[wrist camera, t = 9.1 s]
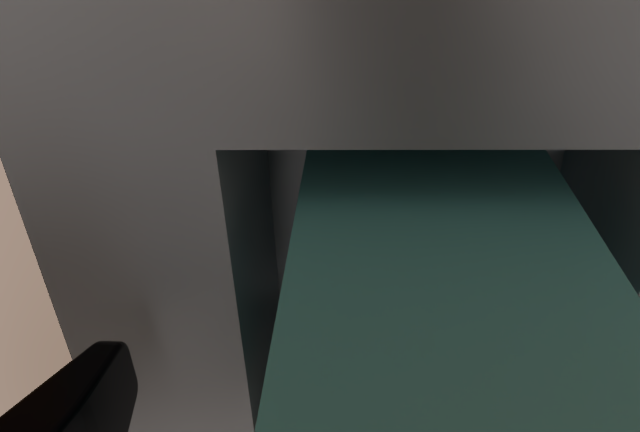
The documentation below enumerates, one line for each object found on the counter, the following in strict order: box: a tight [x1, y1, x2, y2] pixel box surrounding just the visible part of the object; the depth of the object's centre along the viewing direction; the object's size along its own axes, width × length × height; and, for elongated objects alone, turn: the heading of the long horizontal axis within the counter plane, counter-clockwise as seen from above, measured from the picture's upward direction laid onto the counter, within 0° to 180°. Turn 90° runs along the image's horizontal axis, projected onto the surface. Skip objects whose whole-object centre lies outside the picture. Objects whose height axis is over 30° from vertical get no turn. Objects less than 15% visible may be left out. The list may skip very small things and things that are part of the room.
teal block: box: [255, 150, 640, 432], centre depth 8 cm, size 4×4×9 cm
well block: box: [0, 0, 640, 432], centre depth 11 cm, size 12×12×4 cm
